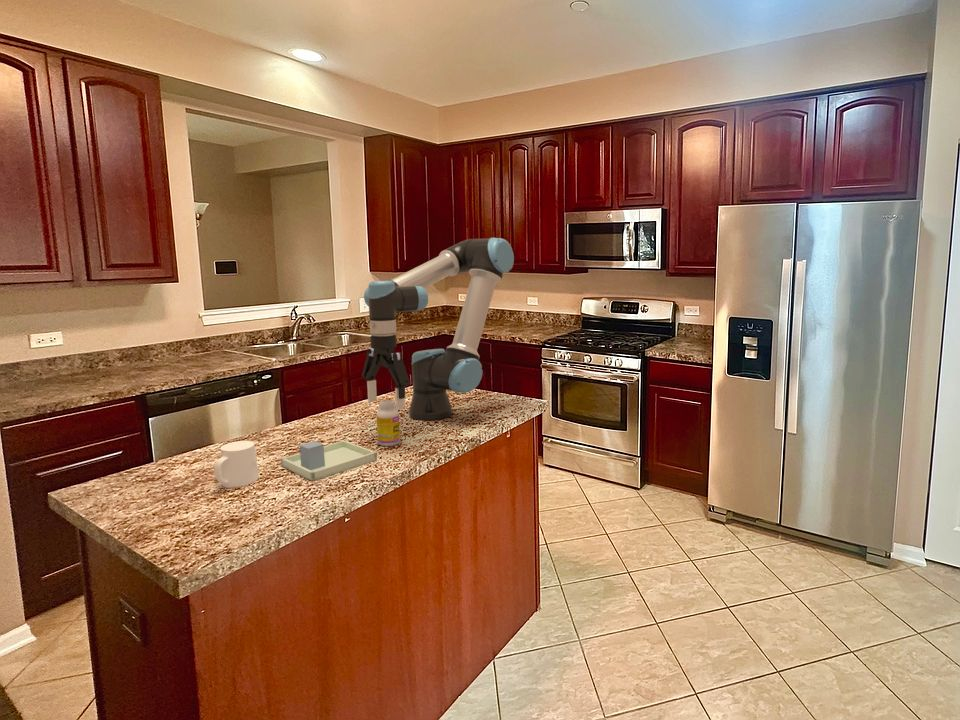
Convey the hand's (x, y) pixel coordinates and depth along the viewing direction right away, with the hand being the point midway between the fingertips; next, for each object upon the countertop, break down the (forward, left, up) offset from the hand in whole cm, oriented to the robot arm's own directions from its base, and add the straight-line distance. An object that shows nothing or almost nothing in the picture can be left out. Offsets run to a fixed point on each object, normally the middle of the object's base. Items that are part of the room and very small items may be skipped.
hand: (386, 405), depth 171 cm
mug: (+44, -5, -12) cm, 46 cm away
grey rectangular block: (+26, +1, -11) cm, 28 cm away
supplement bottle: (0, 0, -12) cm, 12 cm away
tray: (+21, +1, -12) cm, 24 cm away
